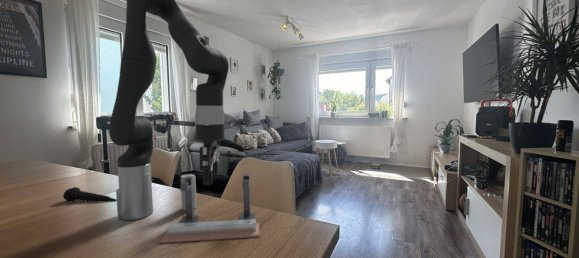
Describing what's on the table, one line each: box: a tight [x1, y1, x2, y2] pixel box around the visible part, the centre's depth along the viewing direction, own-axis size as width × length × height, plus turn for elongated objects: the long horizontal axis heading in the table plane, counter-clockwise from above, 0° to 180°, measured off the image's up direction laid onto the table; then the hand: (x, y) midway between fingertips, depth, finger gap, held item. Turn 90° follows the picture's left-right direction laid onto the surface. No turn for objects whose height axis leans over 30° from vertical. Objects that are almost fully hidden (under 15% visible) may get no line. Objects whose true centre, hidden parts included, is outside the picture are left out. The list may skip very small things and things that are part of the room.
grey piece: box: [180, 173, 197, 212], centre depth 86 cm, size 5×5×12 cm
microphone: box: [62, 186, 117, 202], centre depth 94 cm, size 6×6×20 cm
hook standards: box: [177, 173, 256, 223], centre depth 76 cm, size 23×6×14 cm, turn 97°
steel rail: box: [166, 218, 257, 236], centre depth 69 cm, size 24×2×2 cm, turn 97°
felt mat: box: [160, 222, 260, 244], centre depth 69 cm, size 26×7×1 cm, turn 97°
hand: (211, 180), depth 68 cm, fingers open, 8 cm apart
